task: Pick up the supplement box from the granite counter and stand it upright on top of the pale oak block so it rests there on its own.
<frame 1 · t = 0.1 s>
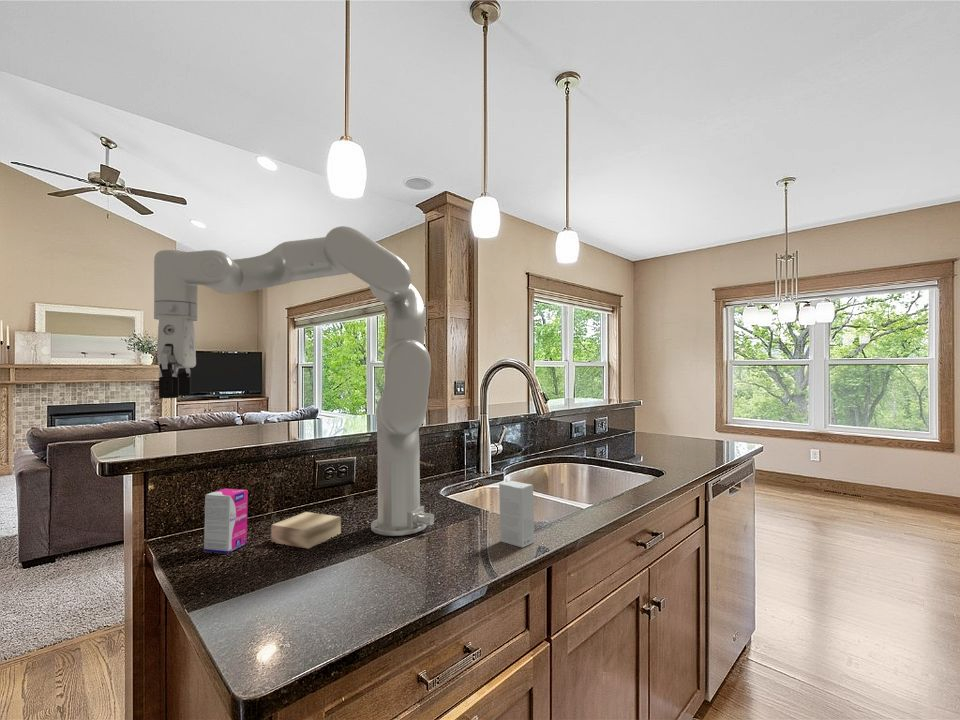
hand: (175, 396, 99), 31 cm above the worktop, tool pointing down, fingers open, 9 cm apart
supplement box: (226, 548, 100), on the worktop
oak block: (307, 539, 106), on the worktop
skincare box: (516, 543, 101), on the worktop
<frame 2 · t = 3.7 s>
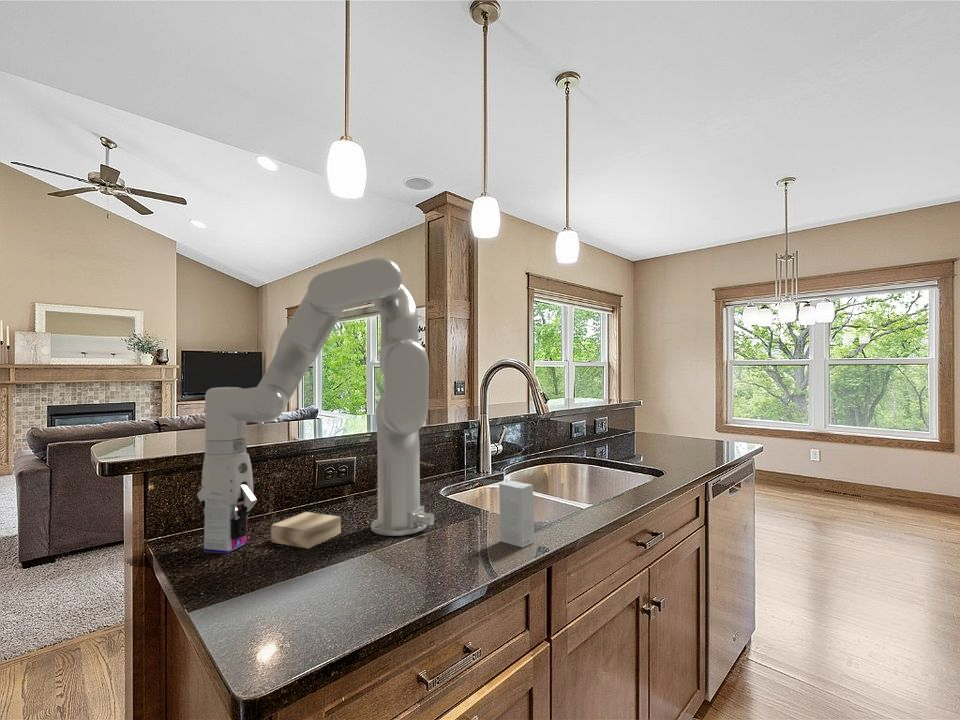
hand: (226, 534, 100), 3 cm above the worktop, tool pointing down, fingers closed on supplement box, 6 cm apart
supplement box: (226, 548, 100), on the worktop, touching gripper
everything else where it was.
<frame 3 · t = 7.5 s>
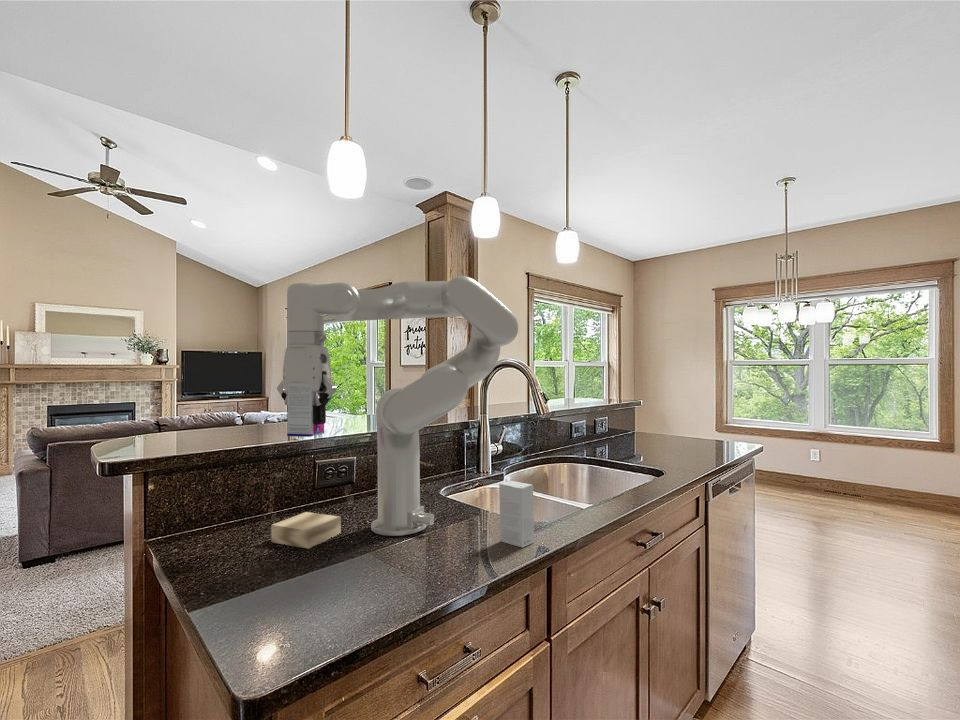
hand: (306, 422, 106), 25 cm above the worktop, tool pointing down, fingers closed on supplement box, 6 cm apart
supplement box: (306, 435, 106), point 22 cm above the worktop, touching gripper
everything else where it was.
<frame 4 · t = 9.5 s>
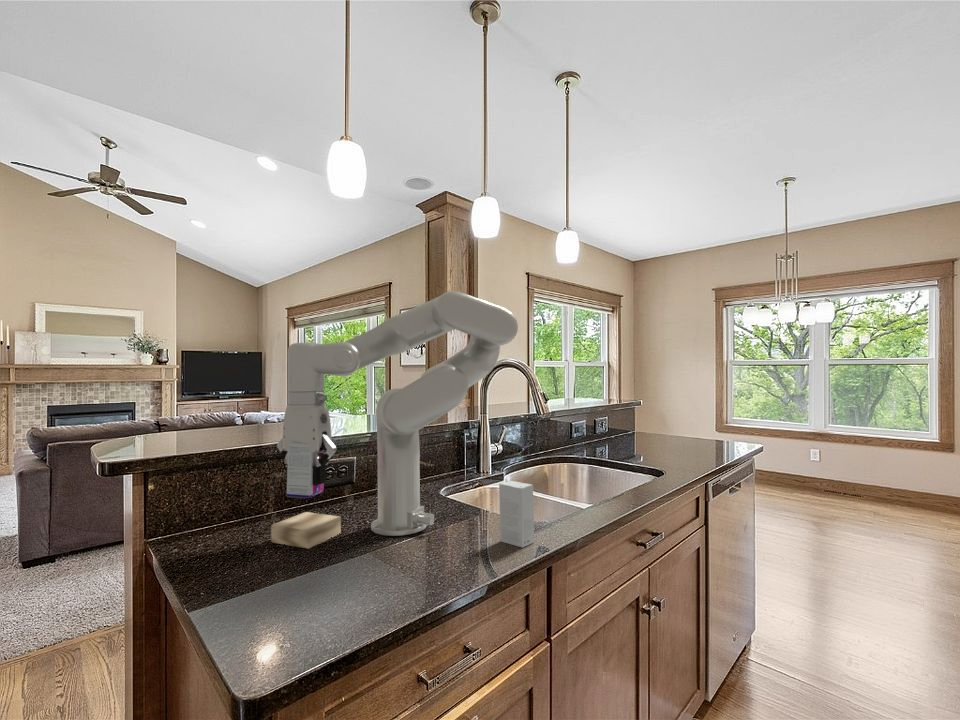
hand: (306, 482, 106), 12 cm above the worktop, tool pointing down, fingers closed on supplement box, 6 cm apart
supplement box: (305, 495, 106), point 9 cm above the worktop, touching gripper
everything else where it was.
when the fingers open (8 cm above the worktop, at t = 11.3 s): supplement box drops 2 cm, resting on oak block.
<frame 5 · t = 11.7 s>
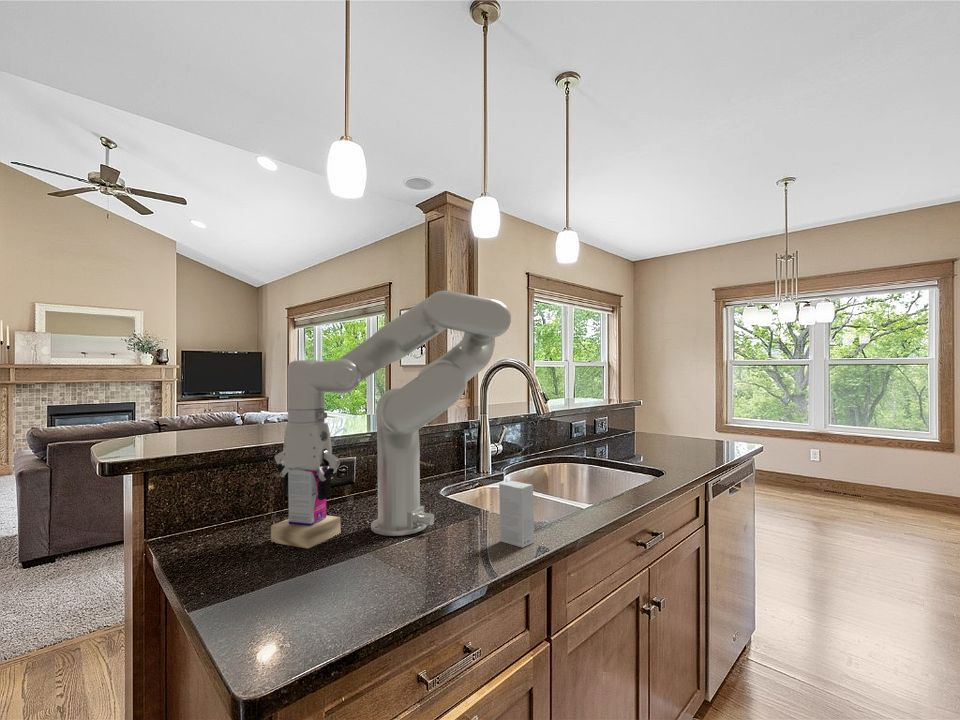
hand: (306, 496, 106), 9 cm above the worktop, tool pointing down, fingers open, 9 cm apart
supplement box: (308, 521, 106), point 3 cm above the worktop, touching oak block
oak block: (306, 539, 106), on the worktop, touching supplement box
everything else where it was.
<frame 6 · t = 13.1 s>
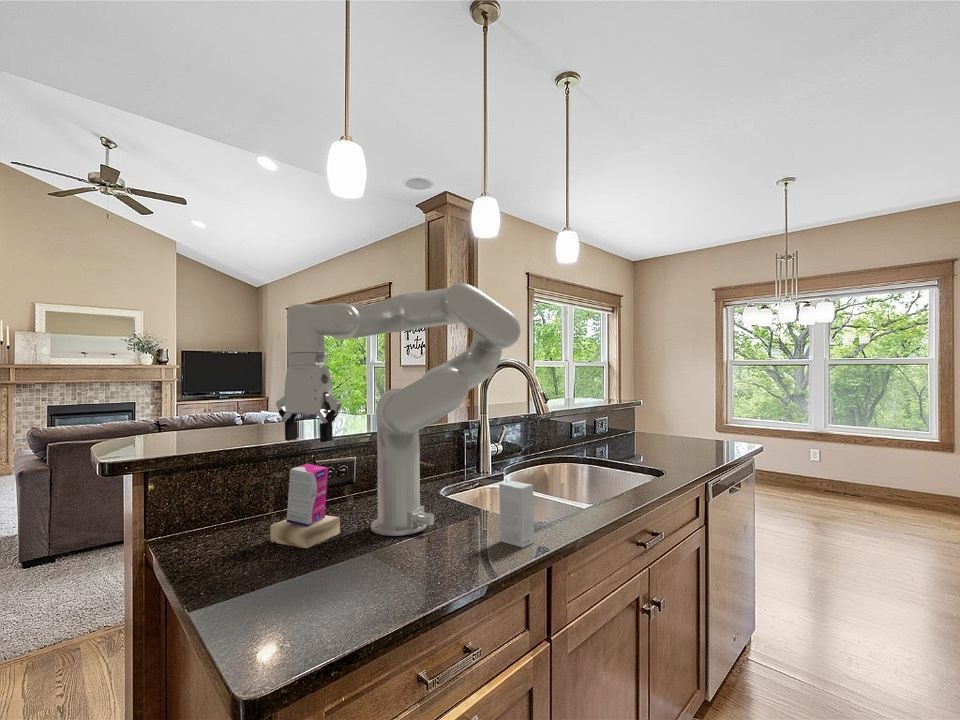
hand: (308, 440, 106), 21 cm above the worktop, tool pointing down, fingers open, 9 cm apart
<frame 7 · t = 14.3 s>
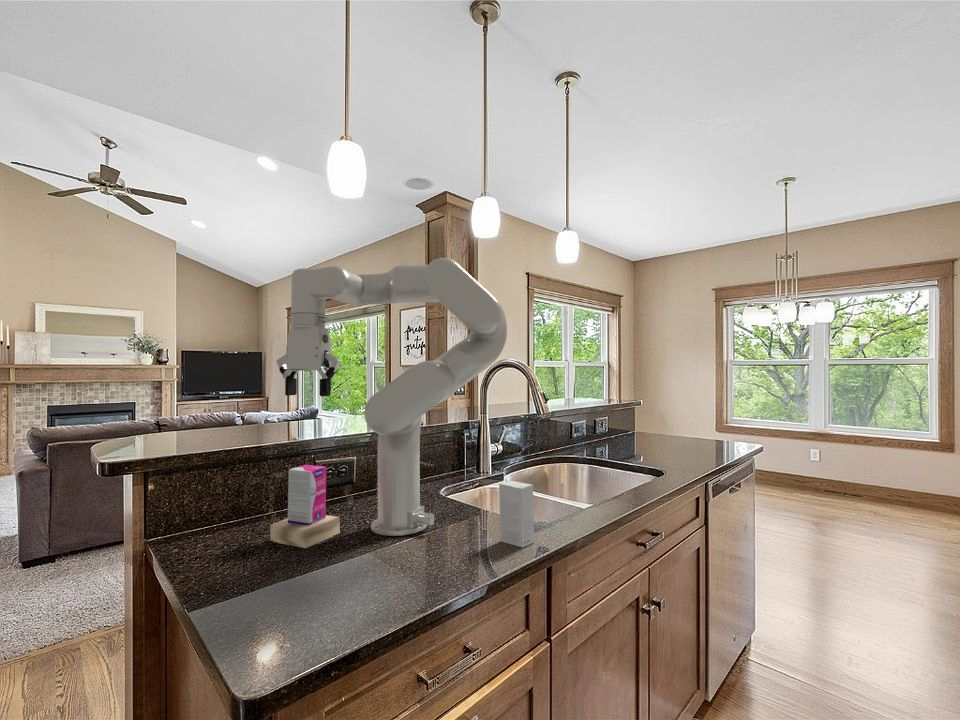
hand: (307, 395, 114), 30 cm above the worktop, tool pointing down, fingers open, 9 cm apart
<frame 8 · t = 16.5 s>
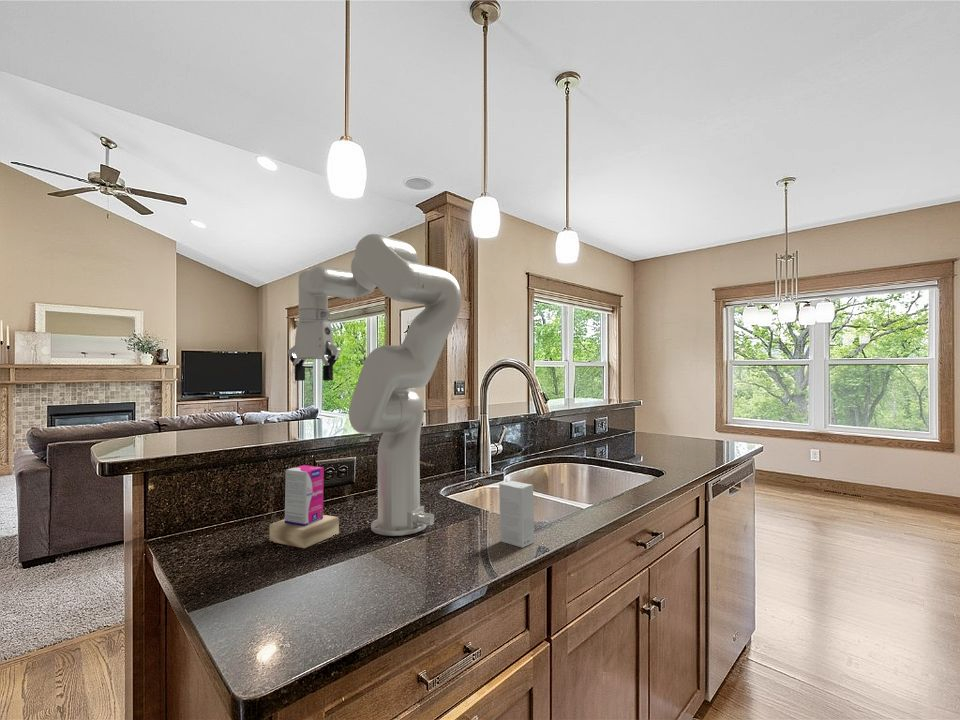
hand: (313, 380, 132), 33 cm above the worktop, tool pointing down, fingers open, 9 cm apart
nothing on the worktop moved.
at the end: supplement box 0.5 cm off-centre on the oak block, point 3.8 cm above the oak block's base; supplement box tilted 1°; supplement box touching oak block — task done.
